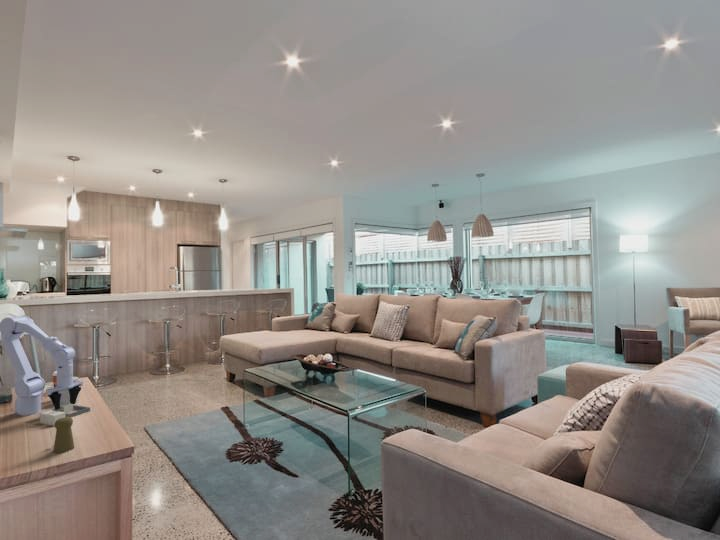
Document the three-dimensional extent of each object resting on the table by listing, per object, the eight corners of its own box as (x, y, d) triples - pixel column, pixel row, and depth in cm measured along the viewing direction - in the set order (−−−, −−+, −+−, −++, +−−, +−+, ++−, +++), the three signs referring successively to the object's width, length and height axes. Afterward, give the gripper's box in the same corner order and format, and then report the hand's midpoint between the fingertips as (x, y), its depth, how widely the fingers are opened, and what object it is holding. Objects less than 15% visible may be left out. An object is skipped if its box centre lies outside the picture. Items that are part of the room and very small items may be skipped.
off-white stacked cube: (39, 423, 161) (39, 413, 161) (50, 419, 165) (50, 410, 165) (46, 424, 160) (46, 414, 160) (57, 420, 164) (57, 411, 164)
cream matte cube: (57, 415, 172) (57, 406, 172) (66, 412, 176) (66, 403, 176) (64, 416, 171) (64, 406, 171) (73, 413, 175) (73, 403, 175)
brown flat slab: (23, 425, 162) (23, 422, 162) (42, 419, 169) (42, 416, 169) (51, 431, 157) (51, 427, 157) (69, 424, 163) (69, 421, 163)
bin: (47, 418, 171) (47, 411, 171) (69, 410, 179) (69, 404, 179) (68, 421, 166) (68, 414, 166) (90, 414, 175) (90, 407, 175)
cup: (67, 407, 184) (67, 381, 184) (52, 406, 185) (52, 380, 185) (82, 402, 192) (82, 377, 192) (68, 401, 193) (68, 376, 193)
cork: (60, 445, 143) (60, 415, 143) (78, 445, 144) (78, 414, 144) (48, 453, 137) (48, 421, 137) (67, 452, 138) (67, 421, 138)
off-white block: (48, 424, 159) (48, 414, 159) (58, 421, 163) (58, 411, 163) (55, 425, 158) (55, 415, 158) (65, 422, 162) (65, 412, 162)
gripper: (53, 380, 166) (53, 413, 166) (87, 372, 179) (87, 402, 179) (42, 379, 168) (42, 411, 168) (76, 370, 182) (76, 400, 182)
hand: (65, 406), depth 174 cm, fingers open, 6 cm apart
